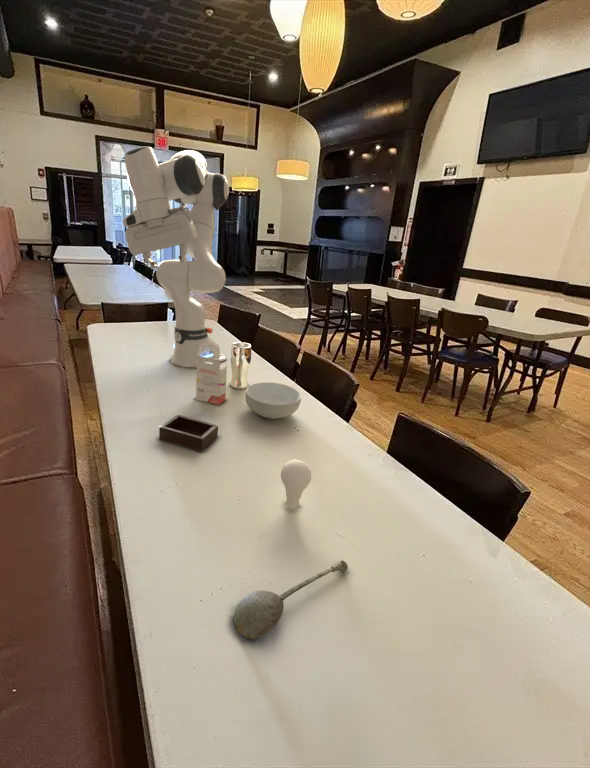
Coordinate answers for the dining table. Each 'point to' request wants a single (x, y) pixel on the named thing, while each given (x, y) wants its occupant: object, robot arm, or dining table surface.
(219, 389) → the ink cartridge box
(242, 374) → the beer glass
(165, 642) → the dining table surface
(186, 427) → the tray
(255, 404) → the cereal bowl
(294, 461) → the lightbulb
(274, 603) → the soupspoon
